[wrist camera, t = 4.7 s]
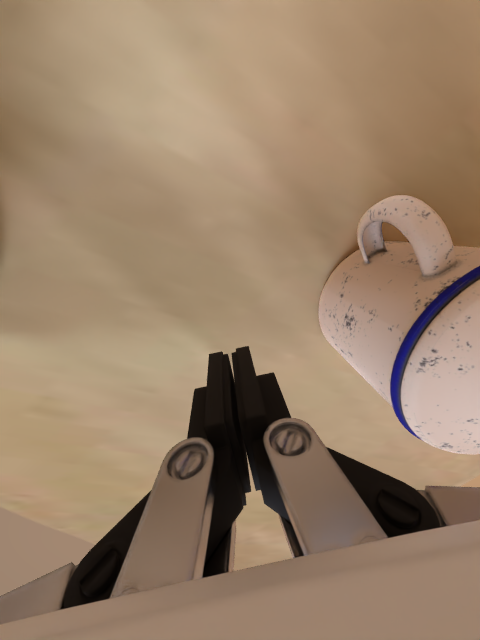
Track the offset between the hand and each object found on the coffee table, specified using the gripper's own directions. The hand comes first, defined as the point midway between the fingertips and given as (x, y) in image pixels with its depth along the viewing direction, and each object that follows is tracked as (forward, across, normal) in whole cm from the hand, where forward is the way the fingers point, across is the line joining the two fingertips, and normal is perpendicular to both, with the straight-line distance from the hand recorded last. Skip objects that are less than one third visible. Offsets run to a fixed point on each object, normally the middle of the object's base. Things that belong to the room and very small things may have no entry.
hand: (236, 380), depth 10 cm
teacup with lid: (+8, -10, 0) cm, 13 cm away
